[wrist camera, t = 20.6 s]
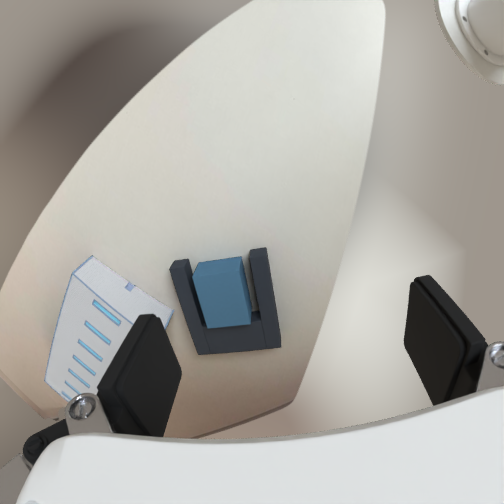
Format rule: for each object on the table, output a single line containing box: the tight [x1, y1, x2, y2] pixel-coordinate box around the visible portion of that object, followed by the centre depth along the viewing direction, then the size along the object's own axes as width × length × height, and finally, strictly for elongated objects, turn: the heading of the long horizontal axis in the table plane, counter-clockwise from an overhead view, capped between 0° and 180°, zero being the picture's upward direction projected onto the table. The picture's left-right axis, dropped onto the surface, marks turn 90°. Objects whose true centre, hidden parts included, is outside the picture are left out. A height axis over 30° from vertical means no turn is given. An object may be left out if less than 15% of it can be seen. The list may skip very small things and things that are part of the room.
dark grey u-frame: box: [169, 248, 281, 355], centre depth 40 cm, size 12×14×2 cm
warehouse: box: [44, 255, 174, 402], centre depth 42 cm, size 30×14×8 cm, turn 145°
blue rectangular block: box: [192, 257, 252, 328], centre depth 38 cm, size 6×8×4 cm
